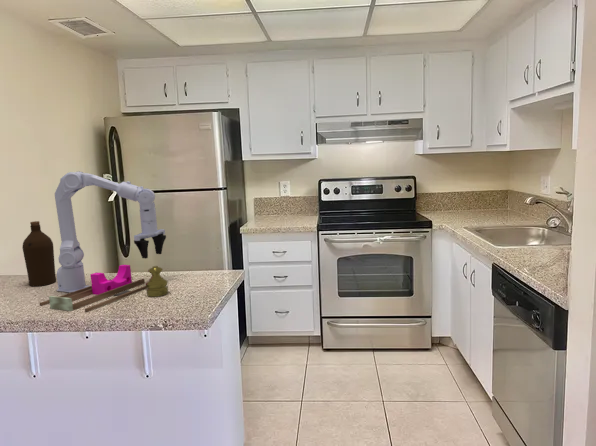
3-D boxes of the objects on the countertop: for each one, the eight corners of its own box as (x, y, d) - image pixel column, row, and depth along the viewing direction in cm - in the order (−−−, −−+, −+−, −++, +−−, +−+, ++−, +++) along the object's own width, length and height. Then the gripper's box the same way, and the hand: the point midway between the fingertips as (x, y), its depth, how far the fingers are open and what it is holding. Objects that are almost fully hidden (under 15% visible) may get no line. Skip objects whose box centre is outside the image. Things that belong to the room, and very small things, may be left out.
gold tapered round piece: (168, 289, 163) (165, 262, 162) (168, 295, 156) (166, 267, 155) (147, 292, 161) (144, 265, 160) (146, 298, 154) (143, 269, 153)
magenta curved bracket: (105, 296, 160) (102, 275, 159) (92, 294, 163) (90, 274, 162) (137, 284, 173) (135, 265, 172) (125, 283, 176) (122, 264, 175)
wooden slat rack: (37, 306, 151) (36, 294, 150) (114, 280, 180) (113, 270, 180) (84, 312, 142) (83, 300, 141) (157, 284, 171) (156, 274, 171)
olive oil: (58, 283, 180) (50, 221, 176) (27, 288, 175) (18, 224, 171) (57, 278, 189) (49, 219, 185) (28, 282, 184) (19, 221, 180)
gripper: (142, 223, 163) (146, 260, 165) (169, 218, 176) (172, 252, 178) (128, 223, 166) (131, 259, 168) (155, 218, 179) (158, 251, 181)
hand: (152, 256), depth 173 cm, fingers open, 7 cm apart
